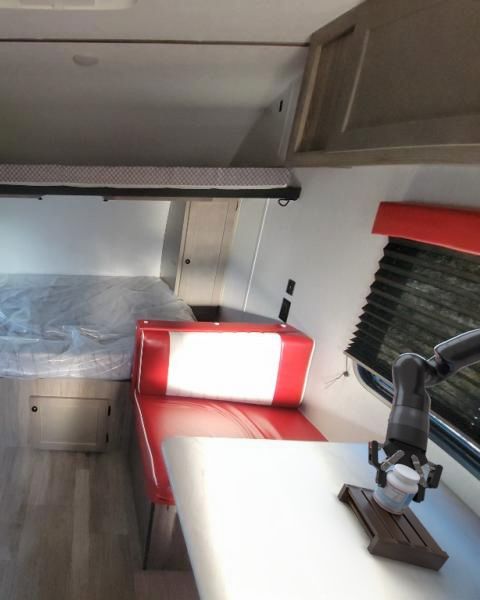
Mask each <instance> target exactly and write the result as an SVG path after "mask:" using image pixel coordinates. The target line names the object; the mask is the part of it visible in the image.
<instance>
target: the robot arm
mask: <svg viewBox="0 0 480 600" xmlns="http://www.w3.org/2000/svg"><path fill="white" fill-rule="evenodd" d="M433 352H434V355H433V356H432V357H430V358H429V359H427V360H426V359H425V358H424V357H423V356H421V355H419V354H417V353H414V352H407V353H402V354H400V355H399V356H397V357H395V360H394V361H393V363H392V366H391V377H392V386H393V391H394V392H393V393H394V394H393V398H392V403H391V409H390V412H389V414H388V419H387V428H386V434H385V439H384V440H385V441H384V442H383V443H382V442H378V441H377V440H376V439H375V440H369V441H368V443H367V444H368V446H367V454H368V455H367V463H368V464H369V465H370V466H372V467H374V468H375V470H376V472H375V479H374V481H375V484H377V486H378V487H381V488H384V487H385V483H386V477H387V471H388V469H389V468H391V467H392V466H395V465H396V464H402V465H405V466H407V467H409V468H411V469H413V470H414V471H415V472H417V473H418V475H419V476H420V480H419V482H418V483H417V486H418V491H417V493H416V495H415V496H414V498H413V499H412V501H411V502H413V503H416V504H420V503H421V502H424V501H425V497H426V489H438V487H439V484H440V480H441V478H442V474H443V470H444V466H443V465H441V464H437V463H435V462H433V461H430V460H429V459H428V457H427V451H428V443H429V436H430V435H429V434H430V413H431V404H432V400H431V397H430V394H429V393H428V392H427V390H426V388H431V387H434V386H437V385H440V384H441V383H443V382H444V381H446V380H447V379H449V378H451V377H452V376H453V375H455V374H456V373H458V372H459V371H460V370H462V369H464V368H467V367H469V366H472V365H474V364H478V363H479V362H480V328H477V329H473V330H469V331H466V332H463V333H461V334H459V335H457V336H455V337H452V338H450V339H448V340H446V341H443V342H441V343H439V344H437V345H436V346H434V348H433ZM380 451H383V452H384V454H385V456H386V457H385V458H383V459H382V460H381V462H379V452H380ZM425 465H426V469H427V471H428V474H427V477H426V478H425V473H424V472H423V468H422V467H423V466H425Z"/></svg>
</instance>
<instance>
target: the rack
mask: <svg viewBox="0 0 480 600" xmlns="http://www.w3.org/2000/svg"><path fill="white" fill-rule="evenodd" d="M375 490H376V489H371V488H367V487H364V486H363V487H362V486H358V485H353V484H349V483H343V485H342V487H341V488H340V490H339V492H338V494H337V499H338V500H339V501H341V502H345V503H348V504H349V505H350V507H351V509H352V510H353V512H354V514H355V515H356V517H357V519H358V520H359V523H361V526H362V527H363V529H364V530H365V532H366V534H367V536H368V537H369V539H370V540H371V541H370V543H369V545H368V546H367V548H366V549H367V551H368V553H369V554H371V555H375V556H378V557H383V558H387V559H390V560H395V561H398V562H401V563H406V564H410V565H413V566H418V567H421V568H425V569H430V570H433V571H436V572H439V571H440V570H441V569H442V567H443V566H444V564H446V562H447V561H448V560H449V558H450V555H449V554H448V553H447V551H445V550H443V549H442V548H441V547H440V545H439V544H438V543H437V541H436V540H435V538H434V537H433V536H432V535H431V533H430V532H429V531H428V530H427V528H426V527H425V526H424V525H423V523H422V522H421V520H420V518H419V517H417V515H416V514H415V513H414V511H413V510H412V508H411V507H410V506H409V505H408V507H407V508H406V510H405V511H404V513H403V514H400V515H397V514H393V513H390V512H388V511H386V510H385V509H383V508H382V507H381V506H380V505H379V504H378V503H377V502H376V501H375V499H374V497H373V494H374V492H375Z"/></svg>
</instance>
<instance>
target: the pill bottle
mask: <svg viewBox="0 0 480 600" xmlns="http://www.w3.org/2000/svg"><path fill="white" fill-rule="evenodd" d="M386 472H387V477H386V483H385V487H384V488H381V487H378V485H377V486H376V489H374V490H375V492H374V494H373V497H374V499H375V501H376V502H377V503H378V504H379V505H380V506H381V507H382V508H383V509H385V510H386V511H388V512H390V513H393V514H397V515H400V514H403V513H404V511H405V510H406V508H407V507H408V506H409V505H410V504H411V503H412V502H413V501H412V499H413V498H414V496H415V495H416V493H417V491H418V486H417V483H418V482H419V480H420V476H419V475H418V473H417V472H415V471H414V470H413V469H411V468H409V467H407V466H405V465H402V464H396V465H393V468H392V469H389V470H386Z"/></svg>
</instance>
